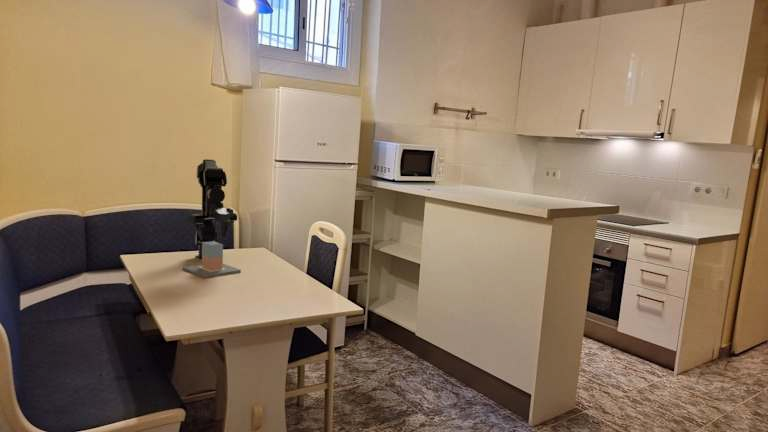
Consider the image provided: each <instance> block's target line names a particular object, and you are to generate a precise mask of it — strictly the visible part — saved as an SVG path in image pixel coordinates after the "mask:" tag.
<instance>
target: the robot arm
mask: <svg viewBox="0 0 768 432" xmlns="http://www.w3.org/2000/svg"><path fill="white" fill-rule="evenodd" d="M196 179H197V182H198V184H199V186H200V187H201V214H199V213H191V214H188V216H187V222H189V223H190V224H192V225H193V226H194V228H195V238H194V239H195V241H194V242H195V245H196V246H198V255H195V256H194V257H195V258H197V259H200V260H202V242H212V241H214V242H217V243H218V238H219V234H218V232H217V230H216V226H215V224H214V223H213V220H215V221H217V222H220V232H221V233H220V234H221V235H220V236H221V238H222V239H225V237H226V234H227V232H228V229H229V227H230V226H231V225H232V224H233V223H235V222H236V221H238V214H237V213H235V212H234V208H232V207H227V208H225V207H224V203H223V201H224V200H225V198H226V193H225V191H224V190H223V189H222V187H226V185H227V184H228V179H227V174H226V172H225V170H224V168H222V167H218V165H217V162H216V160H215V159H208V158H207V159H206V158H205V159H202V162H201V163H200V164H198V165H197V168H196Z"/></svg>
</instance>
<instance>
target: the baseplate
mask: <svg viewBox="0 0 768 432" xmlns="http://www.w3.org/2000/svg"><path fill="white" fill-rule="evenodd" d="M182 270H184V271H185V272H188V273H190V274H193V275H195V276H197V277H201V278H203V279H208V278H214V277H220V276H226V275H231V274H232V275H233V274H238V273H239V274H240V273H241V271H242V270H241V269H240V268H237V267H234V266H231V265H229V264H226V263H223V268H222V269H219V270H212V271H211V270H208V269H206V268H203V267H202V263H201V264H195V265H187V266H186V265H185V266H182Z"/></svg>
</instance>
